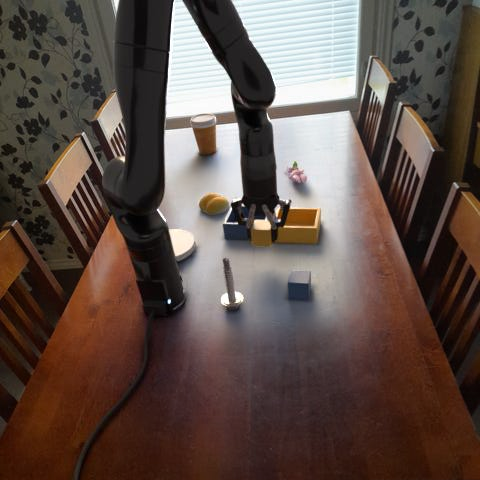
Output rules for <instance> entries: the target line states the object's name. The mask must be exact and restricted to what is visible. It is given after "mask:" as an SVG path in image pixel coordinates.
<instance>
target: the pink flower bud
mask: <svg viewBox="0 0 480 480" xmlns="http://www.w3.org/2000/svg"><path fill="white" fill-rule="evenodd" d="M286 168H287V169H286V172H284V175H285V176H288V179H289V180H290V181H292V182H294V183H299V184H301V182H304V183H306V182H307V179H308V176H307V175H306V174H305V173H304V172H305V170H304V169H299V166H298V163H297V161H296V160H293V163H292V166H290V167H289V166H286Z"/></svg>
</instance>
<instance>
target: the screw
mask: <svg viewBox="0 0 480 480" xmlns="http://www.w3.org/2000/svg"><path fill="white" fill-rule="evenodd" d="M222 264H223V267H222V269H223V278H224V284H225V290H226V293H225V294H223V295H222V296H221V299H220V303H221V304H222V306H223V307H226V308H227V309H228V310H230V311H232V310H237V309H238V308H239V307H240V305H242V303H243V302H244V296H243V295H242V293H240V292H238V291H236V288H235V281H234V273H233V270H232V269H233V268H232V266H231V263H230V258H228V257H223V258H222Z"/></svg>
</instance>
